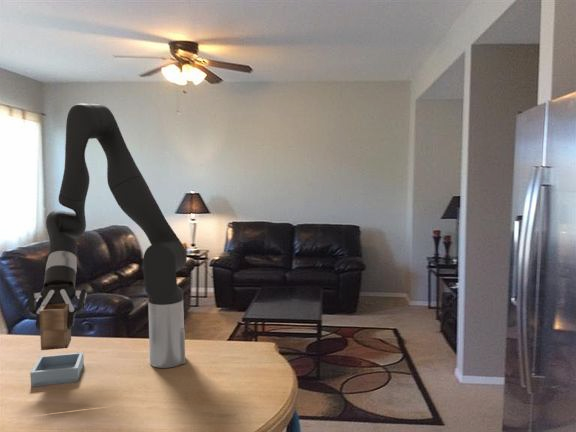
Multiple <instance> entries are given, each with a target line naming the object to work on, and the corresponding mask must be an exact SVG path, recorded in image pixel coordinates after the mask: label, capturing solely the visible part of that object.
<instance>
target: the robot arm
mask: <svg viewBox="0 0 576 432" xmlns="http://www.w3.org/2000/svg"><path fill="white" fill-rule="evenodd" d="M65 125H66V127H65V146H64V148H65V149H64V150H65V152H64V153H65V154H64V155H65V156H64V170H63V175H62V181H61V186H60V191H59V194H58V203H59V204H60V205H61V206H63V207H65V208H68V209H70V210H72V211H73V212H71V211H65V210H58V209H55V210H52V211H50V212H49V213H48V214H47V216H46V220H45V226H46V231H47V235H48V237H49V238H48V240H49V251H48V257H47V262H46V265H45V272H44V273H45V274H44V281H43V288H42V289H41V291H40V292H34V291H29V292H28V311H29V314H30V316H31V318H32V317H33V318H34V317H36V318H35V328H36V330H38V332H40V315H39V311H40V309H41V308H42V306H46V309H47V307H48V304H57V303H59V304H61V303H66V304H69V313H68V321H67V328H68V329H71V330H72V328H73V327H74V326H75V320H76V319H75V317H76V315H78V314H81V315H82V314H83V313H84V310H85V305H86V300H87V297H88V294H87V290H86V288H82V289H81V290H76V279H77V272H78V270H77V267H78V266H77V265H78V264H77V257H78V256H77V255H78V242H77V240H76V239H75V238H80V237H81V236H83V234H84V233H85V232H86V229H87V228H86V227H87V221H86V212H85V209H86V200H87V195H88V191H89V187H90V173H89V170H88V165H87V163H86V148H87V146H88V142H89V140H91V139H96V141H98V143H99V145H100V146H101V149H102V150H103V152H104V154H105V158H106V162H107V163H106V165H107V166H106V167H107V170H106V171H107V172H106V175H107V176H106V178H107V185H108V188H109V190H110V192H111V195H112V196H113V198H114V200H115V201H116V204H117V205H118V206H119V208H120V209H121V210H122V211H123V213H124V214H125V215H127V216H128V217H129V219H130V220H132V221H133V222H134V223H135V224H137V226H138V227H140V229H141V230H142V231H143V233H144V234H145V235H146V237H147V239H148V241H149V244H150V245H149V246H148V247H147V248H146V249H145V251H144V254H143V259H142V268H143V269H142V271H143V272H142V273H143V283H144V291H145V293H146V294H147V301H148V303H147V304H148V309H147V310H148V338H149V339H148V340H149V342H148V343H149V364H150V366H152V367H153V368H159V369H168V368H173V367H178V366H180V365H184V364H186V342H185V341H186V333H185V322H184V321H185V320H184V318H185V316H184V315H185V311H184V290H183V288H181V287H180V286H178V282H177V281H178V279H177V272H179V271H181V270H182V269H184V267H185V266H186V264H187V259H188V258H187V257H188V254H187V251H186V248H185V246H184V245H183V243H182V241H181V240H180V238H179V237H178V236H177V234H176V233H175V232H174V230H173V228H172V227H171V225H170V224H169V223H168V221H167V219H166V218H165V216H164V214H163V212H162V209H161V208H160V206H159V205H158V202H157V200H156V199H155V197H154V195H153V193H152V191H151V189H150V187H149V185H148V183H147V181H146V179H145V178H144V176H143V174H142V173H141V171H140V169H139V167H138V165H137V163H136V162H135V159H134V158H133V156H132V154H131V152H130V150H129V147H128V146H127V143H126V142H125V139H124V137H123V134H122V133H121V130H120V127H119V125H118V123H117V119H116V118H115V116H114V114H113V111H111V110H110V109H109V107H107V106H106V105H104V104H99V103H76V104H74V105H73V106H71V107H70V109H69V111H68V114H67V117H66V124H65ZM75 297H77V299H78V301H77V305H76V307H74V306H73V304H72V302H71V301H72V300H74V298H75ZM40 298H41V299H42V300H43V301H42V302H41V304H40V307H38V309H37V303H38V301H39V300H40Z"/></svg>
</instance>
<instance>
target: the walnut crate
mask: <svg viewBox="0 0 576 432" xmlns="http://www.w3.org/2000/svg"><path fill="white" fill-rule="evenodd" d="M68 313H69V304H66V303H61V304H59V303H57V304H48V307H47V309H46V306H42V308H41V309H40V311H39V315H40V331H39V334H40V351H48V350H51V351H53V350H61V349H63V350H64V349H68V348H69V346H70V344H71V341H72V328H71V329H68V328H67V321H68Z"/></svg>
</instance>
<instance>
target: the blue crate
mask: <svg viewBox="0 0 576 432" xmlns="http://www.w3.org/2000/svg"><path fill="white" fill-rule="evenodd" d="M84 362H85V357H84V352H83V351H82V352H72V353H61V354H60V353H59V354H51V355H41V356H39V357H38V359H37V360H36V362H35V364H34V366H33V367H32V369H31V371H30V373H29V375H30V377H29V378H30V387H32V388H33V387H39V386H49V385H51V386H52V385H58V384H68V383H69V384H70V383H76V382H79V381H80V377H81V374H82V371H83V368H84V366H85V365H84V364H85V363H84Z"/></svg>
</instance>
